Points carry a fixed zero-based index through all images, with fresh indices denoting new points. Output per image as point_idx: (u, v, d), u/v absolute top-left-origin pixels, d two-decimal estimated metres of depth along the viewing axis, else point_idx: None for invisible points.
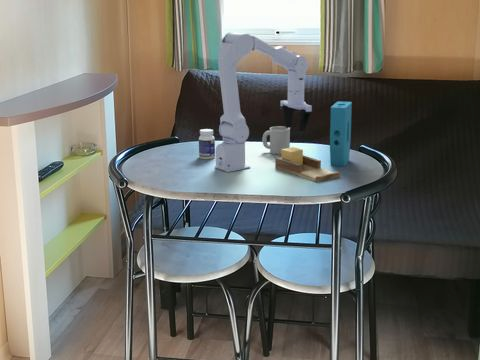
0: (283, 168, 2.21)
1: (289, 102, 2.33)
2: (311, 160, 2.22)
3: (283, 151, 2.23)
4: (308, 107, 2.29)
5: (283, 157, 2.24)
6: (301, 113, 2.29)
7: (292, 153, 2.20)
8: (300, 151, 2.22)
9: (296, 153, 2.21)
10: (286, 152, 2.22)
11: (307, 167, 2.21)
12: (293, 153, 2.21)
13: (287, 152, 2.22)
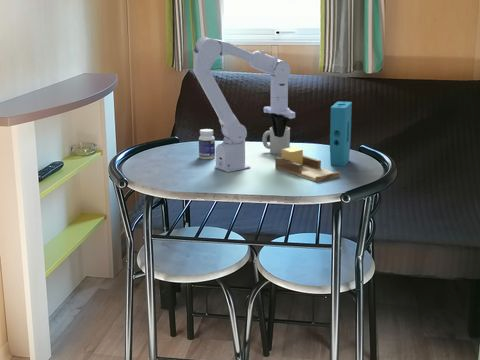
0: (283, 168, 2.21)
1: (272, 108, 2.24)
2: (311, 160, 2.22)
3: (283, 151, 2.23)
4: (291, 114, 2.19)
5: (283, 157, 2.24)
6: (278, 119, 2.22)
7: (292, 153, 2.20)
8: (300, 151, 2.22)
9: (296, 153, 2.21)
10: (286, 152, 2.22)
11: (307, 167, 2.21)
12: (293, 153, 2.21)
13: (287, 152, 2.22)
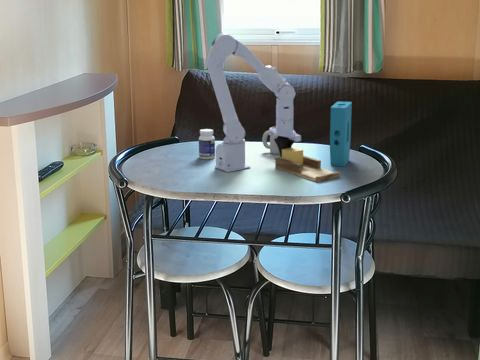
0: (283, 168, 2.21)
1: (277, 131, 2.23)
2: (311, 160, 2.22)
3: (283, 151, 2.23)
4: (297, 137, 2.19)
5: (283, 157, 2.24)
6: (283, 141, 2.23)
7: (292, 153, 2.20)
8: (300, 151, 2.22)
9: (296, 153, 2.21)
10: (286, 152, 2.22)
11: (307, 167, 2.21)
12: (293, 153, 2.21)
13: (287, 152, 2.21)
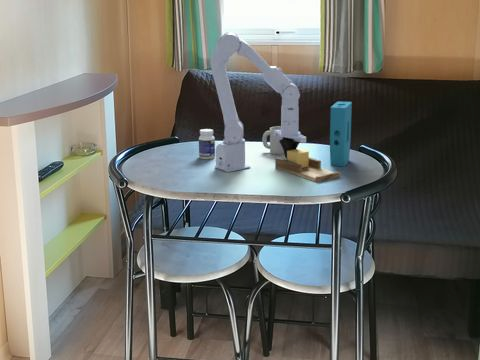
0: (283, 168, 2.21)
1: (283, 133, 2.21)
2: (311, 160, 2.22)
3: (289, 153, 2.21)
4: (302, 138, 2.17)
5: (289, 159, 2.21)
6: (288, 143, 2.20)
7: (298, 155, 2.18)
8: (306, 153, 2.20)
9: (302, 155, 2.19)
10: (292, 154, 2.20)
11: (307, 167, 2.21)
12: (299, 155, 2.18)
13: (293, 154, 2.19)
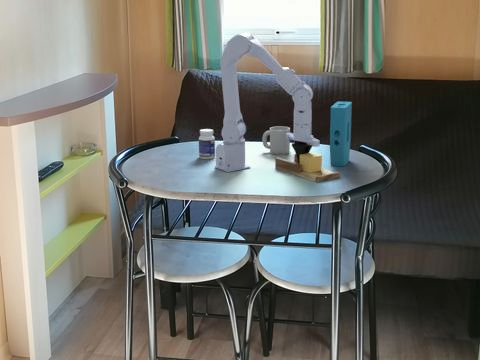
0: (283, 168, 2.21)
1: (295, 136, 2.16)
2: None
3: (301, 157, 2.16)
4: (316, 142, 2.12)
5: (301, 163, 2.16)
6: (301, 146, 2.15)
7: (311, 159, 2.13)
8: (319, 157, 2.15)
9: (315, 159, 2.14)
10: (305, 158, 2.15)
11: None
12: (312, 159, 2.13)
13: (306, 158, 2.14)
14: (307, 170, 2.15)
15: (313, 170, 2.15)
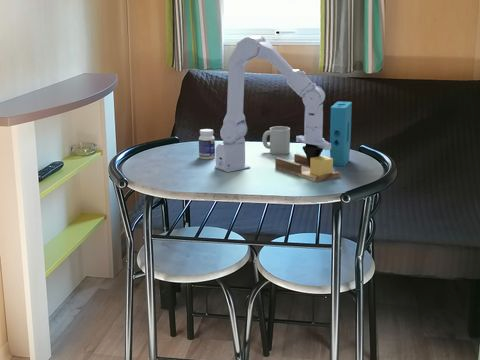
0: (283, 168, 2.21)
1: (306, 139, 2.12)
2: None
3: (312, 160, 2.12)
4: (327, 145, 2.08)
5: (312, 166, 2.12)
6: (312, 149, 2.11)
7: (322, 162, 2.09)
8: (330, 160, 2.11)
9: (326, 162, 2.10)
10: (315, 161, 2.11)
11: (307, 167, 2.21)
12: (323, 162, 2.09)
13: (317, 161, 2.10)
14: (318, 174, 2.11)
15: (324, 174, 2.11)
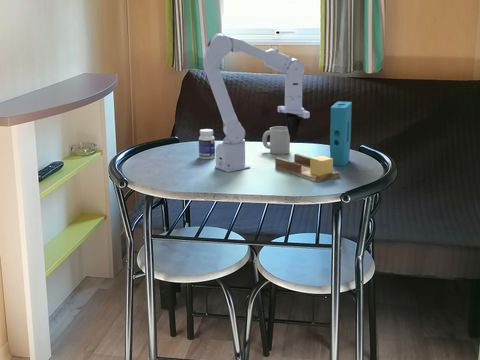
0: (283, 168, 2.21)
1: (286, 108, 2.22)
2: None
3: (312, 160, 2.12)
4: (306, 113, 2.17)
5: (312, 166, 2.12)
6: (292, 118, 2.21)
7: (322, 162, 2.09)
8: (330, 160, 2.11)
9: (326, 162, 2.10)
10: (315, 161, 2.11)
11: (307, 167, 2.21)
12: (323, 162, 2.09)
13: (317, 161, 2.10)
14: (318, 174, 2.11)
15: (324, 174, 2.11)
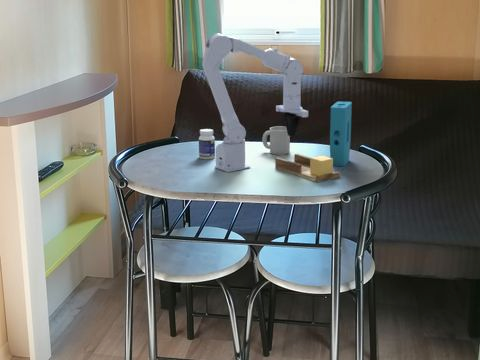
0: (283, 168, 2.21)
1: (285, 107, 2.23)
2: None
3: (312, 160, 2.12)
4: (304, 113, 2.19)
5: (312, 166, 2.12)
6: (290, 117, 2.22)
7: (322, 162, 2.09)
8: (330, 160, 2.11)
9: (326, 162, 2.10)
10: (315, 161, 2.11)
11: (307, 167, 2.21)
12: (323, 162, 2.09)
13: (317, 161, 2.10)
14: (318, 174, 2.11)
15: (324, 174, 2.11)
